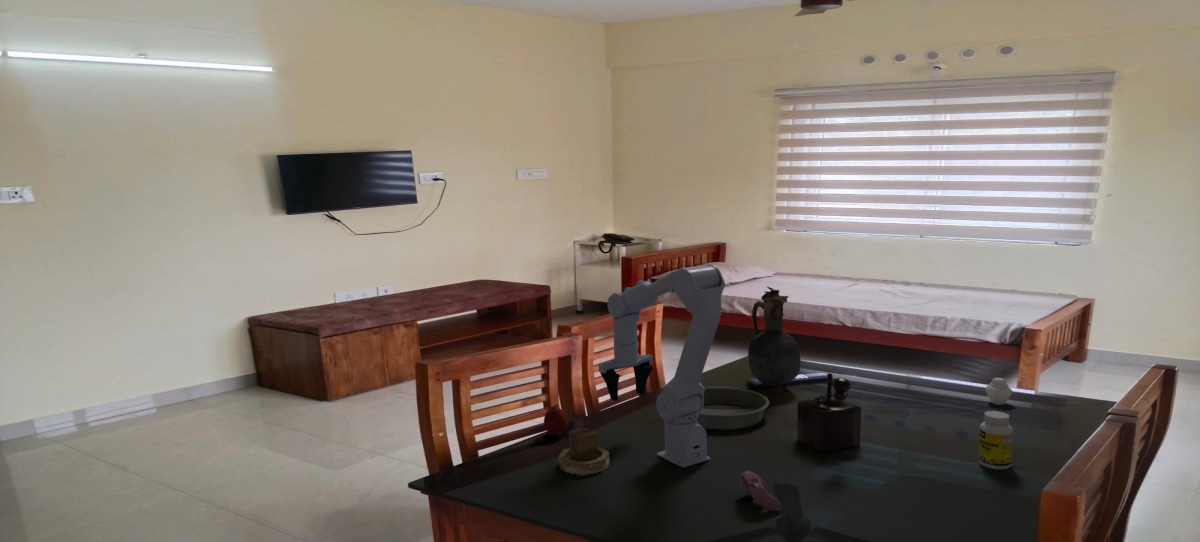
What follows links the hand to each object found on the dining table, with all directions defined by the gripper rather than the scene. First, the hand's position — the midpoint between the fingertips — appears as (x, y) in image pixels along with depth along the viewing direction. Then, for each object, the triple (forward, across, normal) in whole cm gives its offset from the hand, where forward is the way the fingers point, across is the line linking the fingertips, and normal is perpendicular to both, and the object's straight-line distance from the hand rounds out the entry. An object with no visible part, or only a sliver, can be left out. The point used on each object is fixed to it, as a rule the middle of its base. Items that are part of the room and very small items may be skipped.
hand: (627, 396), depth 179 cm
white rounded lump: (+10, -92, +39) cm, 101 cm away
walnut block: (+8, +18, +9) cm, 22 cm away
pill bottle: (+10, -52, +61) cm, 81 cm away
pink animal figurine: (+10, 0, +45) cm, 46 cm away
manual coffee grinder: (+10, -34, +34) cm, 49 cm away
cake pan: (+10, -28, +2) cm, 30 cm away
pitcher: (+10, -56, -8) cm, 58 cm away
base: (+10, +18, +9) cm, 22 cm away
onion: (+10, +14, -11) cm, 20 cm away
